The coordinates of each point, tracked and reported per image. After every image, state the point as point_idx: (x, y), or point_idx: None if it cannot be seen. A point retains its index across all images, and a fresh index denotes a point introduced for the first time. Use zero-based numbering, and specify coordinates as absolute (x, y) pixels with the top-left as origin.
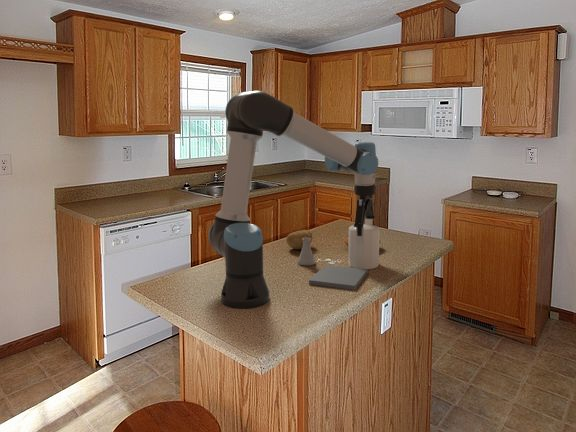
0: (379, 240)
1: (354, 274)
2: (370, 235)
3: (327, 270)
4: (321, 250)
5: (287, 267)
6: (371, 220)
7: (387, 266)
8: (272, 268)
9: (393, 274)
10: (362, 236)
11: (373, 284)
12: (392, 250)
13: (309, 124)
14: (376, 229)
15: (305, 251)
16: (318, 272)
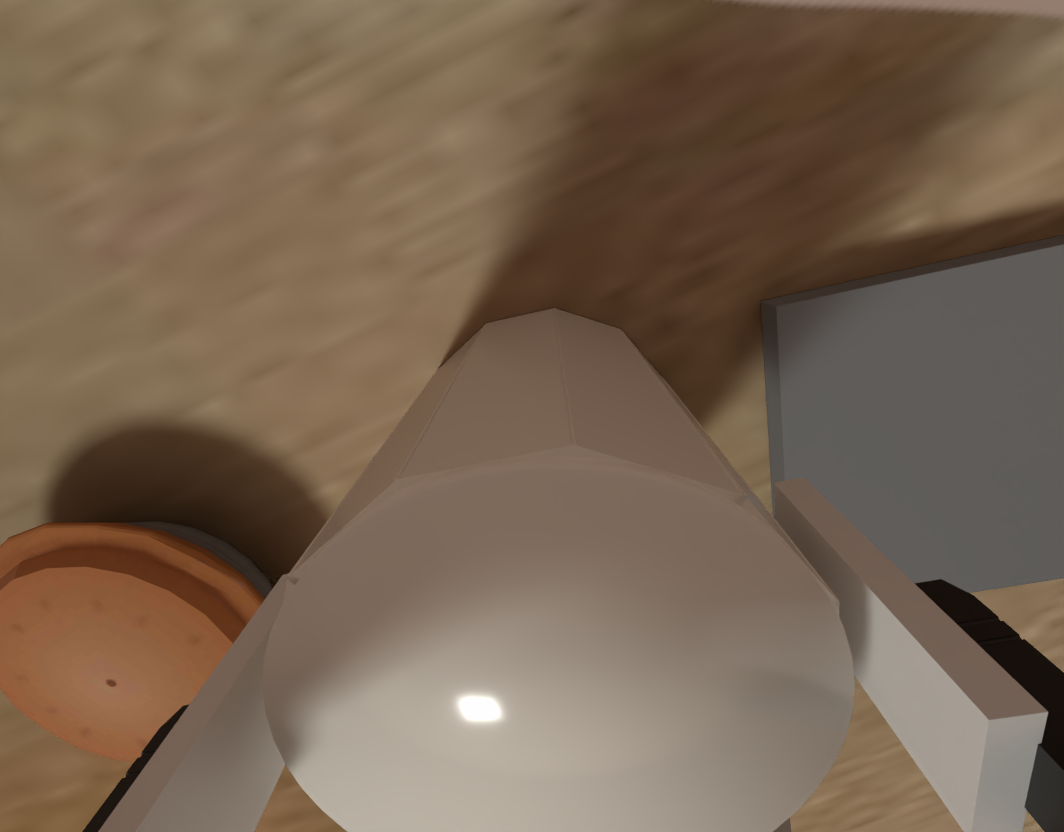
0: (2, 553)
1: (958, 342)
2: (742, 486)
3: (920, 555)
4: None
5: (843, 765)
6: (157, 816)
7: (479, 235)
8: (892, 808)
9: (680, 69)
10: (878, 565)
11: (1044, 114)
12: (27, 400)
13: None
14: (559, 497)
15: (788, 818)
16: (989, 582)
